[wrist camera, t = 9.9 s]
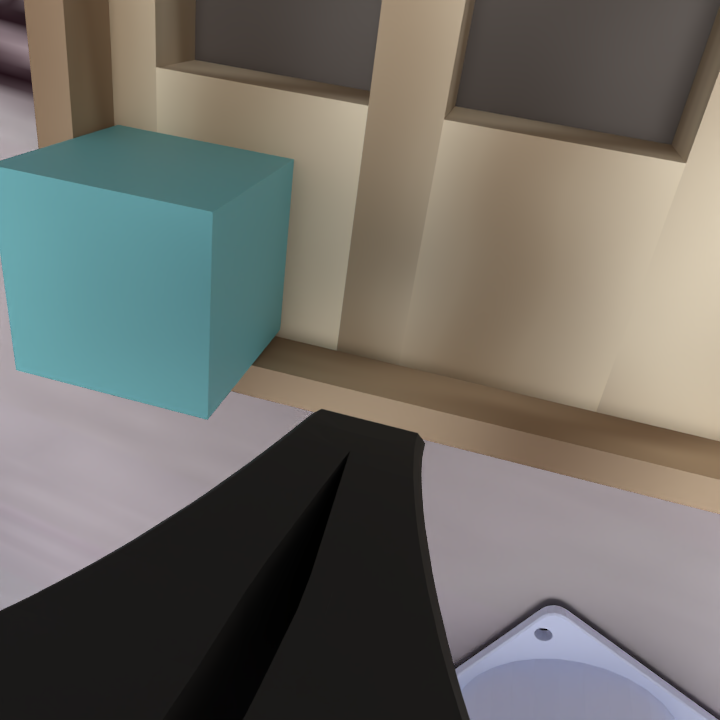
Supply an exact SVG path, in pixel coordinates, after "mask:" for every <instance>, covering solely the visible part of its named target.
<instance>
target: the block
mask: <svg viewBox="0 0 720 720" xmlns="http://www.w3.org/2000/svg"><path fill="white" fill-rule="evenodd" d="M293 167H294V159H290V158H285V157H280V156H275V155H270V154H265V153H259V152H254V151H249V150H244V149H239V148H234V147H229V146H224V145H219V144H214V143H209V142H203V141H198V140H193V139H188V138H183V137H178V136H173V135H168V134H163V133H158V132H153V131H147V130H142V129H137V128H132V127H127V126H122V125H116V126H112V127H109V128H106V129H102V130H99V131H96V132H93V133H89V134H86V135H83V136H80V137H76V138H73V139H70V140H66V141H63V142H60V143H57V144H53V145H50V146H47V147H44V148H40V149H37V150H34V151H31V152H27V153H24V154H21V155H17V156H14V157H11V158H8V159H4V160H1V161H0V255H1V262H2V269H3V277H4V284H5V291H6V299H7V306H8V313H9V321H10V328H11V335H12V343H13V350H14V357H15V365H16V370H18V371H22V372H26V373H30V374H33V375H37V376H41V377H45V378H49V379H53V380H57V381H60V382H64V383H68V384H72V385H76V386H80V387H84V388H87V389H91V390H95V391H99V392H103V393H107V394H111V395H114V396H118V397H122V398H126V399H130V400H134V401H138V402H141V403H145V404H149V405H153V406H157V407H161V408H165V409H168V410H172V411H176V412H180V413H184V414H188V415H192V416H195V417H199V418H203V419H207V420H208V419H209V417H210V416H211V415H212V414H213V412H214V411H215V410H216V409H217V407H218V406H219V405H220V404H221V402H222V401H223V400H224V399H225V397H226V396H227V395H228V394H229V392H230V391H231V390H232V389H233V388H234V386H235V385H236V384H237V383H238V381H239V380H240V379H241V378H242V376H243V375H244V374H245V373H246V371H247V370H248V369H249V368H250V366H251V365H252V364H253V363H254V361H255V360H256V359H257V358H258V356H259V355H260V354H261V353H262V352H263V350H264V349H265V348H266V347H267V345H268V344H269V343H270V342H271V340H272V339H273V338H274V337H275V335H276V334H277V333H278V332H279V330H280V326H281V313H282V301H283V289H284V277H285V265H286V252H287V240H288V228H289V216H290V204H291V191H292V179H293Z"/></svg>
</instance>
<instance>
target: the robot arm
mask: <svg viewBox="0 0 720 720" xmlns="http://www.w3.org/2000/svg"><path fill="white" fill-rule="evenodd" d="M424 446H425V443H424V441H423V440H422V438H421V437H420V435H419V434H418V433H416V432H412V431H408V430H404V429H400V428H396V427H392V426H388V425H384V424H380V423H376V422H372V421H368V420H364V419H360V418H356V417H352V416H348V415H344V414H340V413H337V412H333V411H329V410H325V409H320V410H318V411H316V412H315V413H313V414H311V415H310V416H309V417H307V418H306V419H305V420H304V421H302V422H301V423H300V424H299V425H297V426H296V427H295V428H294V429H292V430H291V431H290V432H289V433H287V434H286V435H285V436H284V437H282V438H281V439H280V440H278V441H277V442H276V443H275V444H273V445H272V446H271V447H269V448H268V449H267V450H265V451H264V452H263V453H261V454H260V455H259V456H257V457H256V458H255V459H253V460H252V461H251V462H249V463H248V464H247V465H245V466H244V467H242V468H241V469H240V470H238V471H237V472H235V473H234V474H233V475H231V476H230V477H228V478H227V479H226V480H224V481H223V482H221V483H220V484H218V485H217V486H216V487H214V488H213V489H211V490H210V491H209V492H207V493H206V494H204V495H203V496H201V497H200V498H198V499H197V500H195V501H194V502H192V503H191V504H189V505H188V506H186V507H185V508H183V509H181V510H180V511H178V512H177V513H175V514H174V515H172V516H170V517H169V518H167V519H166V520H164V521H162V522H161V523H159V524H158V525H156V526H155V527H153V528H151V529H150V530H148V531H147V532H145V533H143V534H142V535H140V536H139V537H137V538H135V539H134V540H132V541H131V542H129V543H127V544H126V545H124V546H122V547H120V548H119V549H117V550H115V551H113V552H112V553H110V554H108V555H106V556H105V557H103V558H101V559H100V560H98V561H96V562H94V563H92V564H91V565H89V566H87V567H85V568H83V569H81V570H80V571H78V572H76V573H74V574H72V575H70V576H68V577H66V578H65V579H63V580H61V581H59V582H57V583H55V584H53V585H51V586H49V587H47V588H46V589H44V590H42V591H40V592H38V593H36V594H34V595H32V596H30V597H28V598H26V599H24V600H22V601H20V602H18V603H16V604H13V605H11V606H9V607H7V608H5V609H3V610H1V611H0V720H718V719H717V718H715V717H714V716H712V715H711V714H710V713H708V712H707V711H706V710H704V709H703V708H701V707H700V706H699V705H697V704H696V703H695V702H693V701H692V700H690V699H689V698H688V697H686V696H685V695H684V694H682V693H681V692H679V691H678V690H677V689H675V688H674V687H673V686H671V685H670V684H668V683H667V682H666V681H664V680H663V679H662V678H660V677H659V676H657V675H656V674H655V673H653V672H652V671H651V670H649V669H648V668H646V667H645V666H644V665H642V664H641V663H640V662H638V661H637V660H635V659H634V658H633V657H631V656H630V655H629V654H627V653H626V652H624V651H623V650H622V649H620V648H619V647H618V646H616V645H615V644H613V643H612V642H611V641H609V640H608V639H607V638H605V637H604V636H602V635H601V634H600V633H598V632H597V631H596V630H594V629H593V628H591V627H590V626H589V625H587V624H586V623H585V622H583V621H582V620H580V619H579V618H578V617H576V616H575V615H573V614H572V613H571V612H569V611H568V610H567V609H565V608H563V607H561V606H555V605H551V606H546V607H544V608H542V609H540V610H539V611H537V612H536V613H535V614H533V615H532V616H530V617H529V618H527V619H526V620H525V621H523V622H522V623H520V624H519V625H517V626H516V627H515V628H513V629H512V630H510V631H509V632H507V633H506V634H505V635H503V636H502V637H500V638H499V639H497V640H496V641H495V642H493V643H492V644H490V645H489V646H487V647H486V648H485V649H483V650H482V651H480V652H479V653H477V654H476V655H475V656H473V657H472V658H470V659H469V660H468V661H466V662H465V663H463V664H462V665H460V666H459V667H458V668H456V669H455V668H454V664H453V660H452V656H451V653H450V649H449V645H448V641H447V637H446V633H445V628H444V624H443V620H442V616H441V611H440V607H439V603H438V598H437V593H436V588H435V583H434V578H433V574H432V567H431V561H430V555H429V549H428V542H427V536H426V530H425V522H424V513H423V500H422V483H421V468H422V455H423V450H424ZM540 628H545V629H547V631H546V630H540Z"/></svg>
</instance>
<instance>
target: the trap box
mask: <svg viewBox="0 0 720 720" xmlns="http://www.w3.org/2000/svg"><path fill="white" fill-rule="evenodd" d="M24 6H25V16H26V26H27V37H28V47H29V57H30V67H31V77H32V87H33V97H34V107H35V117H36V127H37V137H38V147H39V149H40V148H44V147H47V146H50V145H53V144H57V143H60V142H63V141H66V140H70V139H73V138H76V137H80V136H83V135H86V134H89V133H93V132H96V131H99V130H102V129H106V128H109V127H112V126H116V125H122V126H127V127H132V128H137V129H142V130H147V131H153V132H158V133H163V134H168V135H173V136H178V137H183V138H188V139H193V140H198V141H203V142H209V143H214V144H219V145H224V146H229V147H234V148H239V149H244V150H249V151H254V152H259V153H265V154H270V155H275V156H280V157H285V158H290V159H294V167H293V179H292V191H291V204H290V216H289V228H288V240H287V252H286V265H285V277H284V289H283V301H282V313H281V326H280V330H279V332H278V333H277V334H276V335H275V337H274V338H273V339H272V340H271V342H270V343H269V344H268V345H267V347H266V348H265V349H264V350H263V352H262V353H261V354H260V355H259V356H258V358H257V359H256V360H255V361H254V363H253V364H252V365H251V366H250V368H249V369H248V370H247V371H246V373H245V374H244V375H243V376H242V378H241V379H240V380H239V381H238V383H237V384H236V385H235V386H234V388H233V389H232V390H231V391H233V392H237V393H241V394H245V395H249V396H252V397H256V398H260V399H264V400H268V401H272V402H276V403H280V404H284V405H288V406H292V407H296V408H300V409H304V410H308V411H312V412H316V411H318V410H320V409H325V410H329V411H333V412H337V413H340V414H344V415H348V416H352V417H356V418H360V419H364V420H368V421H372V422H376V423H380V424H384V425H388V426H392V427H396V428H400V429H404V430H408V431H412V432H416V433H418V434H419V435H420V437H421V438H422V439H423V440H427V441H431V442H435V443H439V444H443V445H447V446H451V447H455V448H459V449H463V450H467V451H471V452H475V453H479V454H483V455H487V456H491V457H495V458H499V459H503V460H507V461H511V462H515V463H519V464H523V465H527V466H531V467H535V468H539V469H543V470H547V471H551V472H555V473H559V474H562V475H566V476H570V477H574V478H578V479H582V480H586V481H590V482H594V483H598V484H602V485H606V486H610V487H614V488H618V489H622V490H626V491H630V492H634V493H638V494H642V495H646V496H650V497H654V498H658V499H662V500H666V501H670V502H674V503H678V504H682V505H686V506H690V507H694V508H698V509H702V510H706V511H710V512H714V513H717V514H720V0H24Z"/></svg>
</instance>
